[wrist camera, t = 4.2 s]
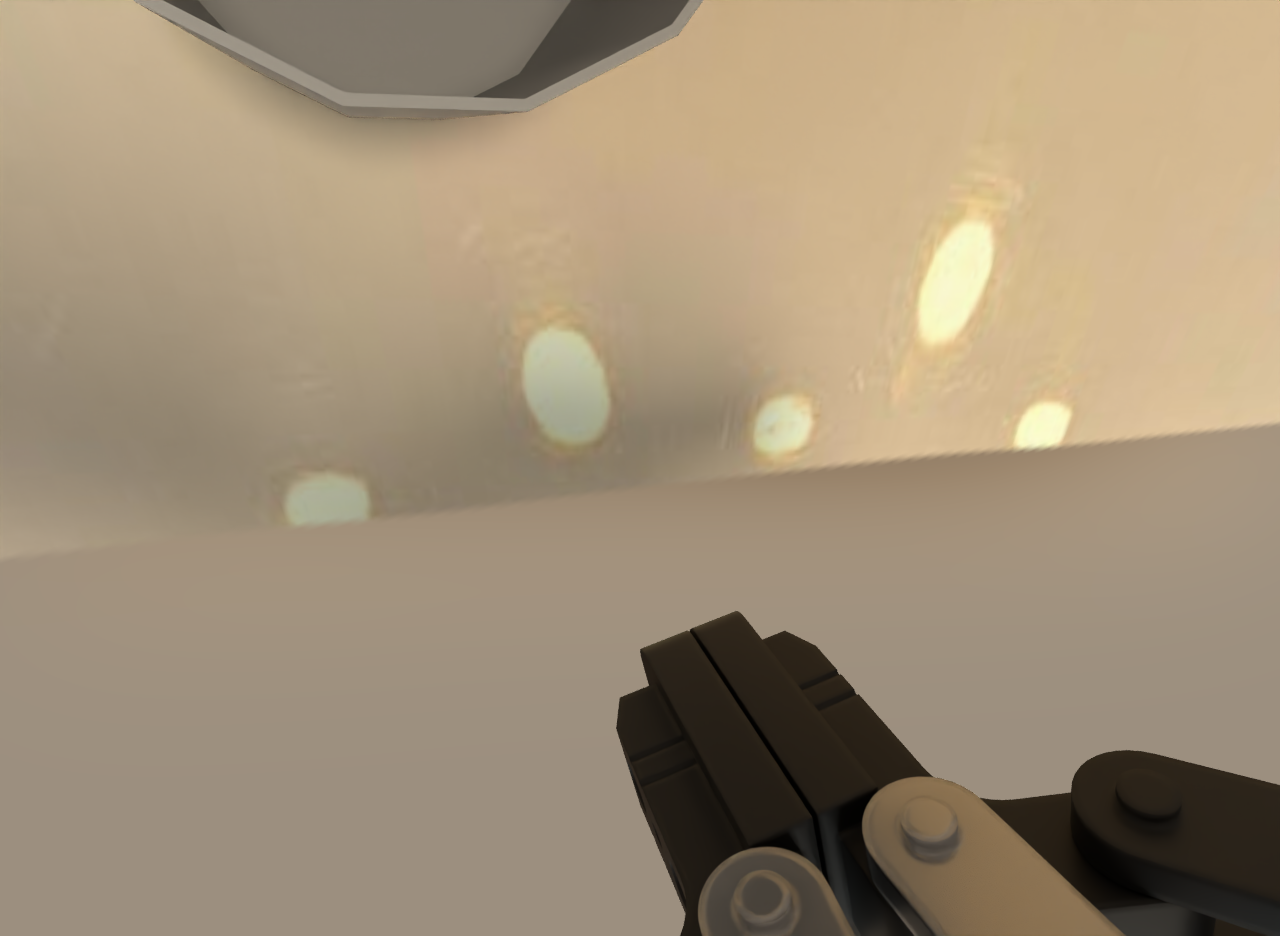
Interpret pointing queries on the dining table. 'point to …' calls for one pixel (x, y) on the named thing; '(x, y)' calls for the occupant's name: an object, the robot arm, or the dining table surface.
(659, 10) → the cup
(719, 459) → the dining table surface
